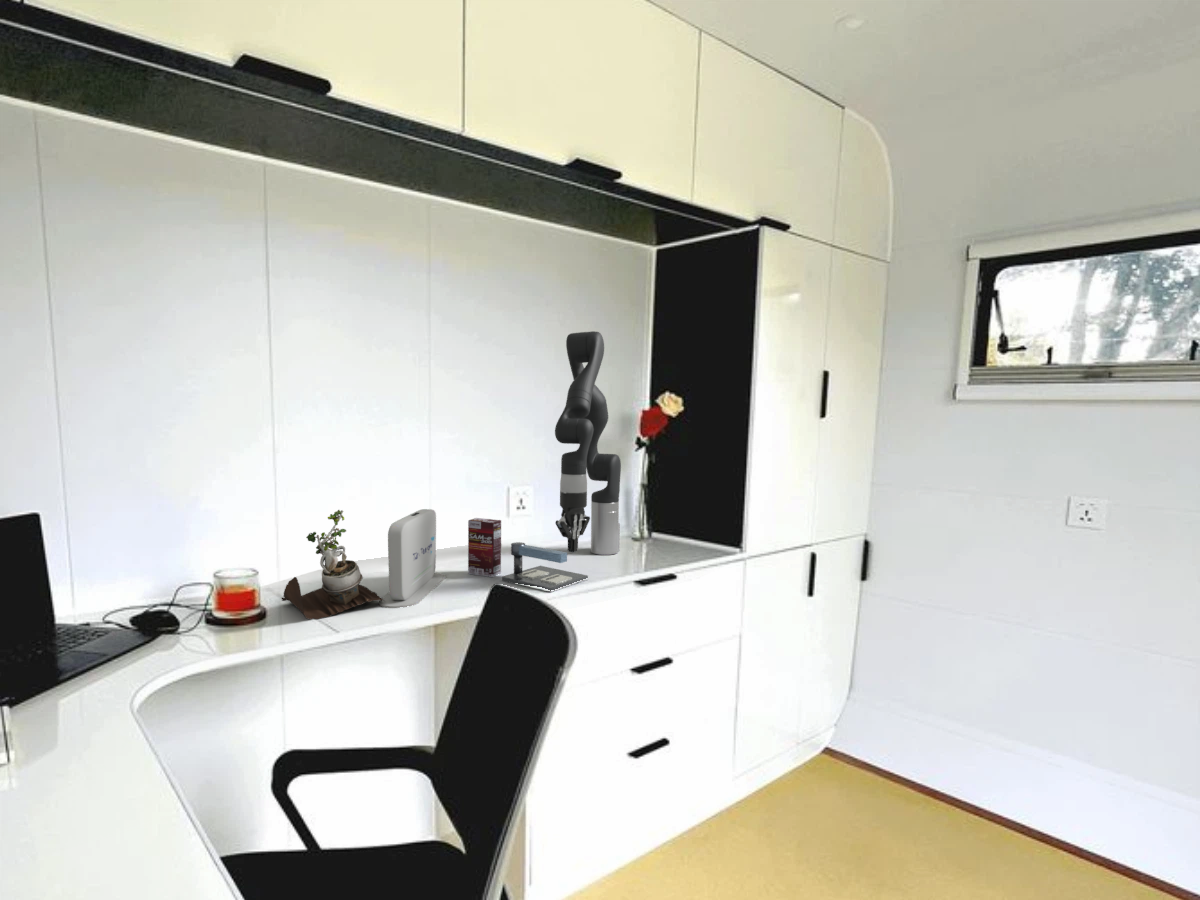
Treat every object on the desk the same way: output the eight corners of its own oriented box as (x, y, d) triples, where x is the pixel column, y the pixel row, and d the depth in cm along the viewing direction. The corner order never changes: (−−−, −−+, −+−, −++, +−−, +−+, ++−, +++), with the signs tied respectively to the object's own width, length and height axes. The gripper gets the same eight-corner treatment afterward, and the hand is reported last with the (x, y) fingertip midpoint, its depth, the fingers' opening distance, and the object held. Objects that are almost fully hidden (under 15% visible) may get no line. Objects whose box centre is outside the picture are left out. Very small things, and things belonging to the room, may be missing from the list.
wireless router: (413, 608, 151) (412, 526, 150) (372, 607, 152) (371, 525, 150) (449, 575, 182) (449, 506, 181) (415, 574, 183) (414, 505, 181)
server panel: (538, 569, 190) (538, 548, 189) (587, 579, 178) (588, 558, 178) (499, 580, 177) (499, 558, 176) (550, 592, 166) (550, 569, 165)
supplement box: (467, 574, 183) (467, 520, 182) (476, 570, 187) (476, 517, 186) (493, 577, 179) (493, 522, 178) (501, 573, 184) (502, 519, 183)
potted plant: (391, 612, 154) (370, 521, 145) (313, 651, 142) (285, 555, 133) (356, 582, 168) (335, 497, 158) (283, 615, 156) (255, 526, 147)
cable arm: (508, 554, 180) (508, 544, 180) (518, 552, 183) (518, 541, 183) (559, 564, 169) (559, 553, 169) (568, 561, 172) (568, 551, 172)
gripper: (578, 487, 184) (577, 546, 185) (547, 490, 173) (546, 553, 174) (598, 489, 179) (597, 549, 180) (568, 493, 169) (567, 557, 170)
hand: (572, 551), depth 177 cm, fingers closed
